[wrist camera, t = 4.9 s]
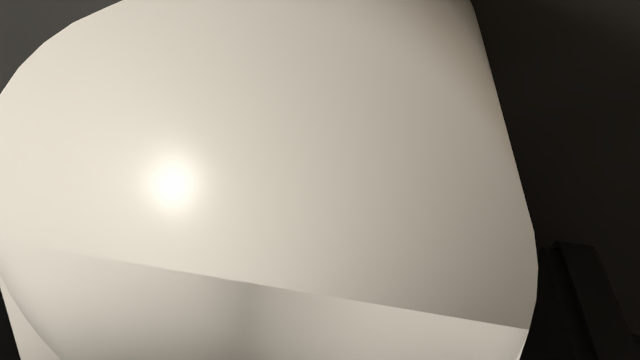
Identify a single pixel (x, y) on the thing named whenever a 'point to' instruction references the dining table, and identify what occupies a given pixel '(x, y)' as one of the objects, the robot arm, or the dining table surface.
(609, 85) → the dining table surface
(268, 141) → the rounded block
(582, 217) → the dining table surface
